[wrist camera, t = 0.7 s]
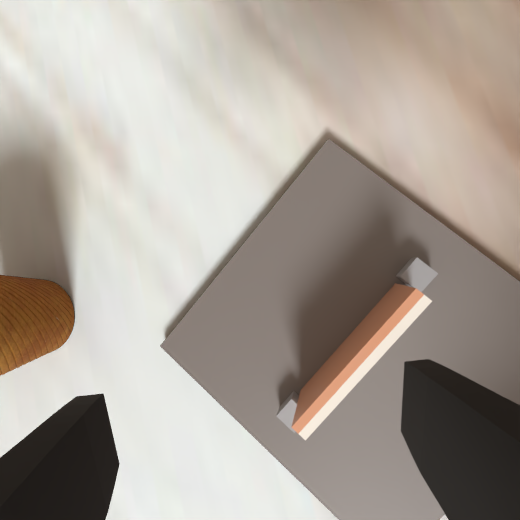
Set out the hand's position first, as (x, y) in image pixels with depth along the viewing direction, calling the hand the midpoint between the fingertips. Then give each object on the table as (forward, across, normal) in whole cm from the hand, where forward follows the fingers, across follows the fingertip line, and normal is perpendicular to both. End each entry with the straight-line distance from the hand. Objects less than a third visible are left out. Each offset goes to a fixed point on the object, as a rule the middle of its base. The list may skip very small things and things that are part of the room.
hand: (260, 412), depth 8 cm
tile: (+15, -7, +7) cm, 17 cm away
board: (+15, -8, +8) cm, 18 cm away
